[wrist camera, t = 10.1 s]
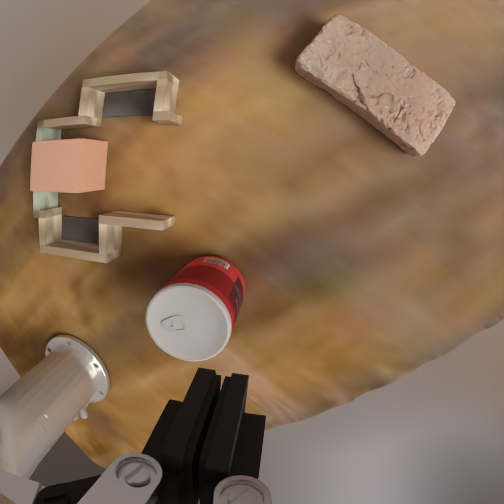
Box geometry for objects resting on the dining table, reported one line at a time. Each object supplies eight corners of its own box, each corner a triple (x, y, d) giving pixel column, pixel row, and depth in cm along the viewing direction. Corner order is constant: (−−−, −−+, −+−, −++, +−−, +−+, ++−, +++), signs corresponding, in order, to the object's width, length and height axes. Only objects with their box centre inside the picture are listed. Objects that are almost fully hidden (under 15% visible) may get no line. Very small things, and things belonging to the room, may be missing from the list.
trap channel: (173, 261, 38) (161, 271, 34) (52, 244, 40) (35, 251, 36) (187, 80, 33) (176, 70, 29) (60, 92, 34) (42, 87, 31)
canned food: (170, 268, 38) (130, 302, 28) (229, 242, 37) (205, 270, 26) (198, 323, 40) (170, 371, 29) (256, 301, 38) (245, 348, 28)
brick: (290, 73, 32) (291, 59, 27) (329, 23, 30) (334, 6, 25) (409, 160, 33) (425, 159, 28) (442, 108, 31) (460, 101, 26)
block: (105, 189, 37) (77, 193, 31) (58, 187, 38) (30, 191, 32) (108, 141, 36) (81, 138, 30) (61, 143, 36) (32, 142, 30)
